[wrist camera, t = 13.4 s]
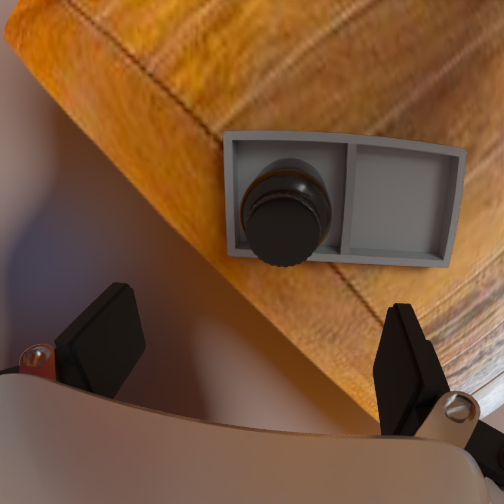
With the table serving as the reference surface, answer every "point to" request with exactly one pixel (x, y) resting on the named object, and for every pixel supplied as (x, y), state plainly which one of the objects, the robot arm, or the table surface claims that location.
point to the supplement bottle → (286, 212)
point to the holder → (359, 193)
